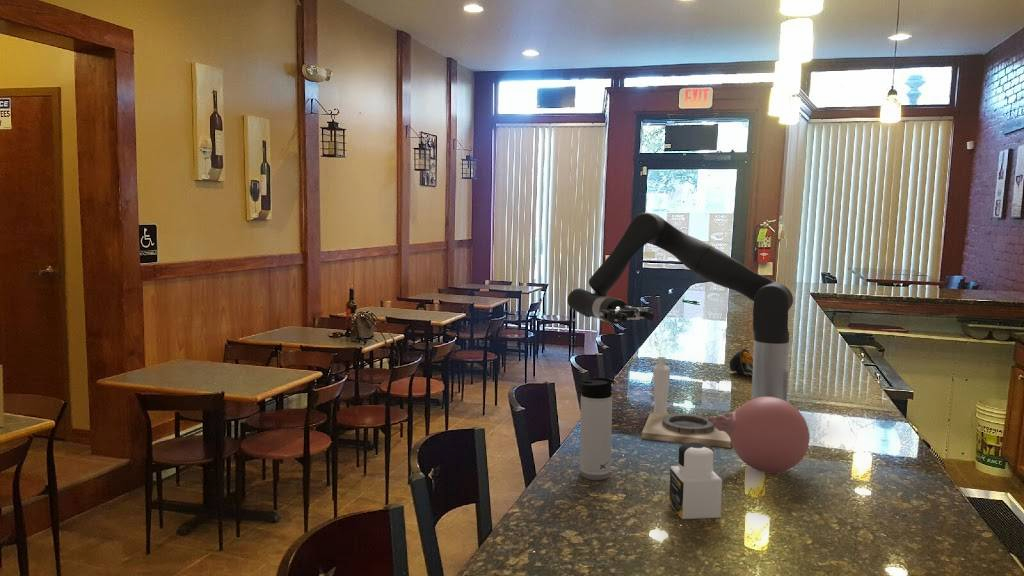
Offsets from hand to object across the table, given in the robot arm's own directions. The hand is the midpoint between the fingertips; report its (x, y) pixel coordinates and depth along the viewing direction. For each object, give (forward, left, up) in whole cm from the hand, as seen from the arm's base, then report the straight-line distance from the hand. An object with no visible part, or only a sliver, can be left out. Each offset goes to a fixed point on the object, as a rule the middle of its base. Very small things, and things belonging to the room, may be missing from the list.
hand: (639, 317), depth 190 cm
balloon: (-30, +43, -24) cm, 58 cm away
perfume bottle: (-7, +9, -24) cm, 27 cm away
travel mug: (+1, +57, -24) cm, 62 cm away
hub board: (-15, +23, -24) cm, 36 cm away
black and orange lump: (-32, -41, -24) cm, 58 cm away
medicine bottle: (-19, +68, -24) cm, 74 cm away
